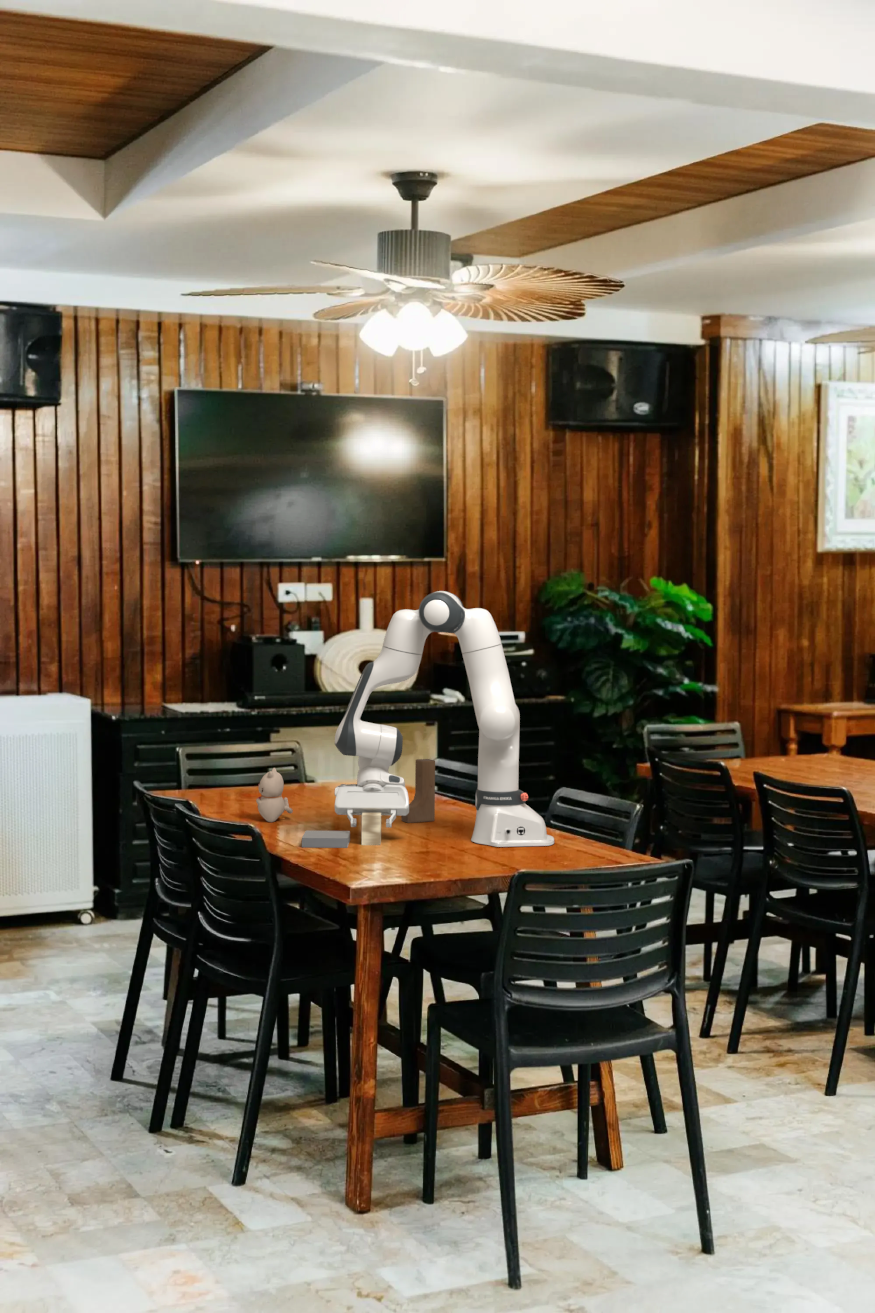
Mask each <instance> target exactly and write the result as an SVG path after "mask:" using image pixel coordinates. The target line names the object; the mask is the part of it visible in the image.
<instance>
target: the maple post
mask: <svg viewBox="0 0 875 1313" xmlns="http://www.w3.org/2000/svg"><path fill="white" fill-rule="evenodd" d="M381 843H382V815H381V813H362V815H361V846H381Z"/></svg>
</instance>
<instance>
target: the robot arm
mask: <svg viewBox="0 0 875 1313" xmlns="http://www.w3.org/2000/svg"><path fill="white" fill-rule="evenodd" d="M431 633H447V634H454V635H455V636H456V637H457V639H458V642H459V647H460V651H461V654H462V658H463V664H464V666H465V671H466V675H467V680H468V683H469V688H470V694H471V699H472V705H473V709H474V713H475V714H474V715H475V718H476V722H477V726H478V729H479V731H478V732H479V733H478V736H479V737H478V754H477V757H478V758H477V788H476V789H475V810H476V814H475V815H476V816H475V823H474V827H473V832H472V835H471V839H470V841H471V842H472V843H473V842H474V843H475V844H480V845H486V846H487V845H488V846H492V847H496V848H497V847H498V848H499V847H500V848H502V847H503V848H508V847H509V848H510V847H544V846H545V847H546V846H547V847H548V846H552V845H554V844H555V837H554V836H552V835H550V834H547V833H548V832H547V826H546V823H545V820H544V818H543V817H542V816H541V815H540V814H539V813H538V812H537V811H535V810H534V809H533V808H531V807H530V806H529V805H527V804H526V801H528V800H529V795H528V793H527V792H524V791H523V790H521V789H519V780H520V779H519V777H520V776H519V774H520V772H519V768H520V767H519V764H520V761H519V759H520V731H521V730H520V725H521V724H520V723H521V722H520V720H521V718H520V717H521V716H520V715H521V714H520V710H519V707H518V705H517V704H516V700H515V696H514V692H513V687H512V683H511V678H510V672H509V668H508V665H507V660H506V657H505V653H504V652H505V651H504V648H503V644H502V640H501V637H500V633H499V631H498V628H497V625H496V622H495V621H494V618H493V616H492V614H491V613H490V612H489V610H487V609H485V608H481V607H475V608H465V607H464V604H463V602H462V601H461V599H460V598H459V597H458V596H457V595H456V594H454V593H451V592H449V591H446V590H445V591H444V590H439V591H438V590H437V591H434V592H431V593H429V594H428V595H426V596H425V597H424V598H423V599H422V600H421V601H420V603H419V607H418V609H416V610H414V609H408V608H407V609H406V608H405V609H399V610H397V611H396V612H395V613H393V615H392V617H391V619H390V622H389V623H388V626H387V628H386V631H385V636H384V639H383V642H382V645H381V646H382V647H381V651H380V652H379V655H378V656H377V657H376V658H375V660H373V661H372V662H371V661H370V662H369V663H367V664H366V665H365V667H364V669H363V671H362V672H361V675H360V676H359V679H358V682H356V686H355V689H354V690H353V693H352V695H351V698H350V700H349V702H348V706H347V708H346V711H345V713H344V715H343V717H342V719H341V722H340V723H339V725H338V727H337V729H336V731H335V735H334V745H335V747H336V748H337V750H338V751H339V753H341V754H342V755H343V756H349V757H350V756H351V757H358V760H357V763H358V767H359V769H358V772H357V778H356V779H357V780H356V781H357V782H356V783H350V784H349V783H348V784H346V783H341V784H340V785H337V786H336V787H335V789H334V796H335V800H334V812H335V814H336V815H341V816H342V815H343V816H347V818H348V820H349V822H350V827H351V828H357V825H358V824H357V823H358V822H357V818H354V816H362V813H381V816H390V817H389V818H386V819H385V828H392V823H393V822H394V821H395V820H396V819H397V816H400V817H401V816H406V815H407V814H408V813H409V804H410V798H409V793H408V790H407V788H406V781H405V779H404V777H402V776H399V775H395V774H392V773H390V772H389V769H390V767H392V766H394V765H395V764H396V763H397V762H398V761H399V760H400V759H401V758H402V757H401V756H402V753H403V740H404V736H403V734H402V733H401V731H400V729H399V728H398V727H394V726H390V725H386V724H380V723H373V722H368V721H364V720H362V719H361V717H362V714H363V712H364V710H365V707H366V705H367V703H368V702H367V701H368V700H369V697H370V695H371V693H372V692H373V691H374V690H376V689H377V688H379V687H383V686H387V685H392V684H398V683H402V682H405V681H407V680H409V679H411V678H412V677H414V676H415V674H416V673H417V672H418V670H419V667H420V664H421V662H422V657H423V652H424V649H425V648H424V646H425V644H426V639H427V638H428V636H429V635H430V634H431Z"/></svg>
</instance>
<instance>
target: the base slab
mask: <svg viewBox="0 0 875 1313" xmlns="http://www.w3.org/2000/svg"><path fill="white" fill-rule="evenodd" d="M350 841H351V831H350V830H305V831H304V833H303V835H302V837H301V848H318V849H319V848H325V849H326V848H327V849H329V848H332V849H337V848H338V849H341V848H343V849H348V847H349V846H350V845H349V844H350Z"/></svg>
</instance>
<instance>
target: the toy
mask: <svg viewBox="0 0 875 1313" xmlns="http://www.w3.org/2000/svg"><path fill="white" fill-rule="evenodd" d="M284 785H285V784H284V779H283V776H282V775H281V773H279V772H277V769H276V767H273V768H272V769H271V770H269V771H267V773H265V774H264V775H263V776H262V778H261V779H260V781H259V782H258V784H257V786H258V792H259V794H260V795H261V796H259V797H257V798H256V800H255V801H256V804H257V810H258V812H259V814H260V816H261V817H262V818H263V819H264V820H265V821H266V822H268V823H273V822H275V821H277V820H278V818H279V817H280V816H281V815H282V814H283V813H284V812H285V811H286V812H287V813H288V814H293V812H294V811H293V808H292V807H290V805H289V800H288V797H283V796H282V795H283V791H284Z"/></svg>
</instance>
